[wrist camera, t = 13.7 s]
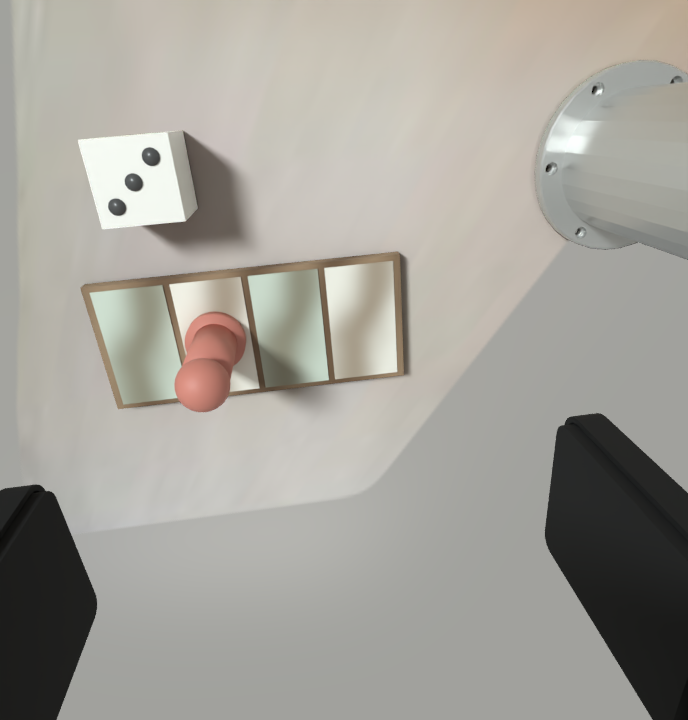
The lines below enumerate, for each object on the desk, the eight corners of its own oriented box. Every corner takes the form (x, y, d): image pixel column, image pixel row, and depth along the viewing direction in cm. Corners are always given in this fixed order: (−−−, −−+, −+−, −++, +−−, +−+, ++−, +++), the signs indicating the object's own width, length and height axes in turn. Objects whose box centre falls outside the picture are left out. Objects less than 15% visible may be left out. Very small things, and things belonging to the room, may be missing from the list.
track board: (397, 251, 39) (400, 255, 38) (401, 370, 43) (404, 375, 42) (84, 284, 37) (79, 288, 36) (121, 403, 42) (117, 409, 41)
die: (182, 130, 34) (167, 132, 29) (197, 208, 36) (185, 221, 32) (105, 137, 34) (77, 140, 29) (125, 215, 36) (102, 229, 31)
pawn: (241, 308, 38) (229, 361, 30) (250, 361, 40) (241, 424, 32) (181, 314, 38) (152, 369, 30) (193, 368, 40) (169, 433, 32)
